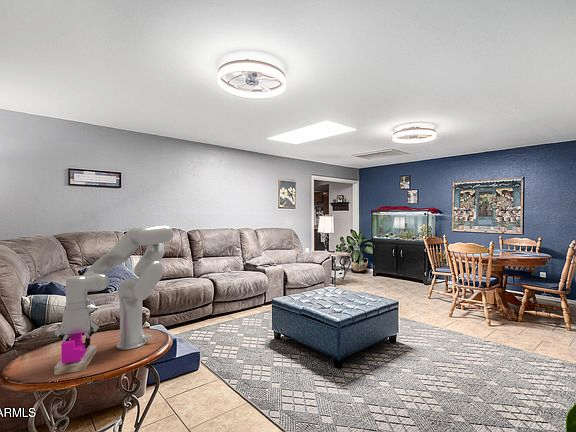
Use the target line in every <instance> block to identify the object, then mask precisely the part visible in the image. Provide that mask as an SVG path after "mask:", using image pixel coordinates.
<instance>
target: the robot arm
mask: <svg viewBox="0 0 576 432" xmlns="http://www.w3.org/2000/svg"><path fill="white" fill-rule="evenodd" d="M174 235H175V233H174V230H173V228H172V227H170V226H169V225H153V226H150V227H134V228H130V229H129V230H127V231H126V233H124V234H123V236H122V237H121V238H120V239H119V240H118V241H117V242H116V244H114V246H113V247H112V248H111V249H110V250H109V251H108V252H106V253H105V254H104V255H102V256H101V257H100V258H98V259H97V260H96V261H95V262H94V263H92V264H91V266H89V268H88V269H87V270H86V271H85V272H84V273H83V274H82V275H72V276H69V277H67V278H66V280H65V309H64V310H63V314H62V320H61V321H62V322H61V326H60V327H59V328H58V329H57V330H55V332H53V333H54V335H56V337H57V338H59V339H60V340H61V341H62V343H63V342H65V341H70V338H69V337H70V336H71V334H77V333H82V334H84V337H85V338H84V343H85V348H88V347H89V346H91V337H92V335H94V334H95V332H97V331H98V330H99V328H100V326H98V325H97V324H95V323H94V322H93V318H92V310H91V307H90V306H91V305H92V301H89V299H88V292H99V291H100V292H101V291H103V290H105V289H106V288H108V287H109V285H110V278H109V277H108V275H106V274H107V273H108V272H109V271H111V270H112V269H113V268H115V267H118V266H120V265H123V263H125V262H127V261H128V260H129V258H131V256H132V255H133V253H134V252H136V250H137V249H138V248H139V246H141V247H142V246H147V248H146V250H145V252H144V253H143V255H142V256H141V257H140V259H139V261H138V262H137V263H136V265H135V266H134V268H133V273H134V275H135V276H136V277H137V278H134V277H132V278H131V277H129V278H125V279H123V280H122V281H121V282H120V283H119V285H118V286H117V294H118V295H117V296H118V301H119V342H117V343H116V349H117V350H123V351H125V350H132V349H134V350H135V349H136V348H140V347H143V346H144V345H145V344H146V343H147V340H153V334H150V333H147V334H144V333H145V332H144V331H143V303H142V301H144V300H146V299H148V298H149V297H150V295H151V294H152V292H153V291H154V289H155V288H156V286H157V285H158V284H159V282H160V280H161V278H162V277H163V275H164V265H163V263H162V262H161V260H162V258H163V256H164V254H165V244H166V243H168V242H170V241H172V240H173V238H174ZM92 328H93V329H92ZM91 329H92V330H91ZM90 330H91V331H90Z"/></svg>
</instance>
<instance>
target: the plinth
mask: <svg viewBox="0 0 576 432" xmlns="http://www.w3.org/2000/svg"><path fill="white" fill-rule="evenodd" d="M96 353H97V345H89V346H88V348H87V351H86V353H85V354H84V356H83V357H82V359H81V360H80V361H74V362H68V363H62V358H61V359H60V360H59V361H58V362H57V363H56V365H54V368H53V375H54V376H57V375H63V374H70V373H76V372H77V373H78V372H82V371H85V370H86V368H87V367H88V366H89V364H90V363H91V361H92V360H93V358H94V357H95V355H96Z"/></svg>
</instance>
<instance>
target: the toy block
mask: <svg viewBox="0 0 576 432" xmlns="http://www.w3.org/2000/svg"><path fill="white" fill-rule="evenodd" d="M69 340H70V341H65V342H63V341H62V342H61V344H60V346H61V349H60V350H61V352H60V353H61V354H60V355H61V359H62V363H68V362H74V361H80V360H81V359H82V357H83V356H84V354H85V353H86V351H87V348H85V342H83V333H77V334H70V338H69Z"/></svg>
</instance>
